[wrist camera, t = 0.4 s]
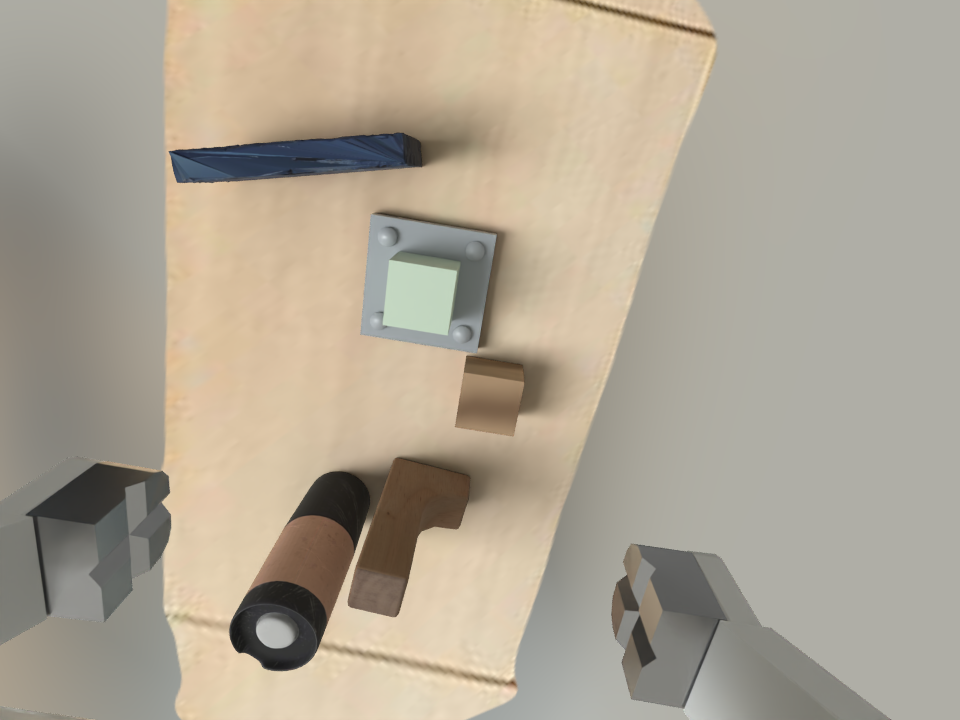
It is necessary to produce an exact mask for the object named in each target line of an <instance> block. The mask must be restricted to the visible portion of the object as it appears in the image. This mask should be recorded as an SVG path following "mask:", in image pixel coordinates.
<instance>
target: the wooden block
mask: <svg viewBox="0 0 960 720" xmlns="http://www.w3.org/2000/svg"><path fill="white" fill-rule="evenodd" d="M469 488H470V477H469V476H468V475H464V474H460V473H456V472H452V471H448V470H444V469H440V468H436V467H432V466H428V465H424V464H420V463H416V462H412V461H408V460H404V459H400V458H395V459H394V460H393V463H392V466H391V469H390V472H389V475H388V478H387V480H386V483H385V486H384V489H383V492H382V494H381V497H380V500H379V503H378V506H377V508H376V511H375V514H374V517H373V520H372V523H371V525H370V528H369V531H368V534H367V537H366V540H365V542H364V545H363V548H362V551H361V554H360V556H359V559H358V562H357V565H356V568H355V572H354V576H353V580H352V585H351V589H350V593H349V597H348V606H349V607H351V608H356V609H360V610H364V611H368V612H373V613H377V614H381V615H386V616H390V617H396V616H397V615H398V614H399V611H400V608H401V604H402V601H403V597H404V594H405V590H406V586H407V583H408V579H409V574H410V570H411V565H412V561H413V556H414V551H415V547H416V542H417V537H418V535H419V534H420V532H421V531H424V530H426V529H429V528H432V527H442V528H450V529H458V528H459V527H460V524H461V521H462V518H463V515H464V512H465V508H466V505H467V502H468V499H469Z"/></svg>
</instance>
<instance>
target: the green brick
mask: <svg viewBox="0 0 960 720" xmlns="http://www.w3.org/2000/svg"><path fill="white" fill-rule="evenodd" d="M460 263H461V261H455V260H449V259H443V258H437V257H431V256H425V255H419V254H413V253H407V252H401V251H399V252H398V253H397V254H395V255H394V256H393V257H392V258H391V259H389V267H388V276H387V286H386V296H385V306H384V316H383V325H386V326H392V327H398V328H404V329H410V330H417V331H423V332H429V333H435V334H441V335H447V336H448V333H449V329H450V326H451V322H452V317H453V311H454V304H455V297H456V290H457V284H458V277H459V270H460Z"/></svg>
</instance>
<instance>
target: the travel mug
mask: <svg viewBox="0 0 960 720" xmlns="http://www.w3.org/2000/svg"><path fill="white" fill-rule="evenodd" d="M369 505H370V496H369V492H368V490H367V488H366V486H365V485H364V484H363V483H362V482H361V481H360V480H359V479H358V478H356V477H355V476H353V475H351V474H348V473H344V472H331V473H327V474H324V475H322V476H321V477H319V478H318V479H317V480H316V481H315V482H314V484H313V485H312V486H311V488H310V489H309V491H308V492H307V494H306V495H305V497H304V498H303V500H302V501H301V503H300V505H299V506H298V508H297V509H296V511H295V512H294V514H293V515H292V517H291V518H290V520H289V522H288V523H287V525H286V526H285V528H284V529H283V531H282V533H281V535H280V536H279V538H278V540H277V541H276V543H275V545H274V547H273V548H272V550H271V552H270V554H269V555H268V557H267V559H266V561H265V562H264V564H263V566H262V568H261V569H260V571H259V573H258V575H257V576H256V578H255V580H254V582H253V583H252V585H251V587H250V589H249V590H248V592H247V594H246V596H245V597H244V599H243V601H242V603H241V604H240V606H239V608H238V610H237V611H236V613H235V615H234V617H233V619H232V621H231V624H230V629H229V634H230V640H231V642H232V645H233V647H234V648H235V650H236V651H237V652H238V653H247V654H249V655H251V656H253V657H254V658H256V659H257V660H258V661H260V663H261V665H262V667H263V668H264V669H267V670H271V671H289V670H294V669H297V668H299V667H302V666H303V665H305V664H307V663H308V662H309V661H310V660H311V659H312V658H313V657H314V655H315V653H316V652H317V649H318V647H319V644H320V642H321V639H322V637H323V634H324V631H325V629H326V626H327V624H328V621H329V618H330V616H331V613H332V611H333V608H334V605H335V603H336V600H337V598H338V595H339V592H340V590H341V587H342V585H343V582H344V579H345V577H346V574H347V572H348V569H349V567H350V564H351V561H352V559H353V556H354V553H355V550H356V547H357V544H358V541H359V537H360V534H361V531H362V528H363V525H364V522H365V519H366V516H367V512H368V509H369Z"/></svg>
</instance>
